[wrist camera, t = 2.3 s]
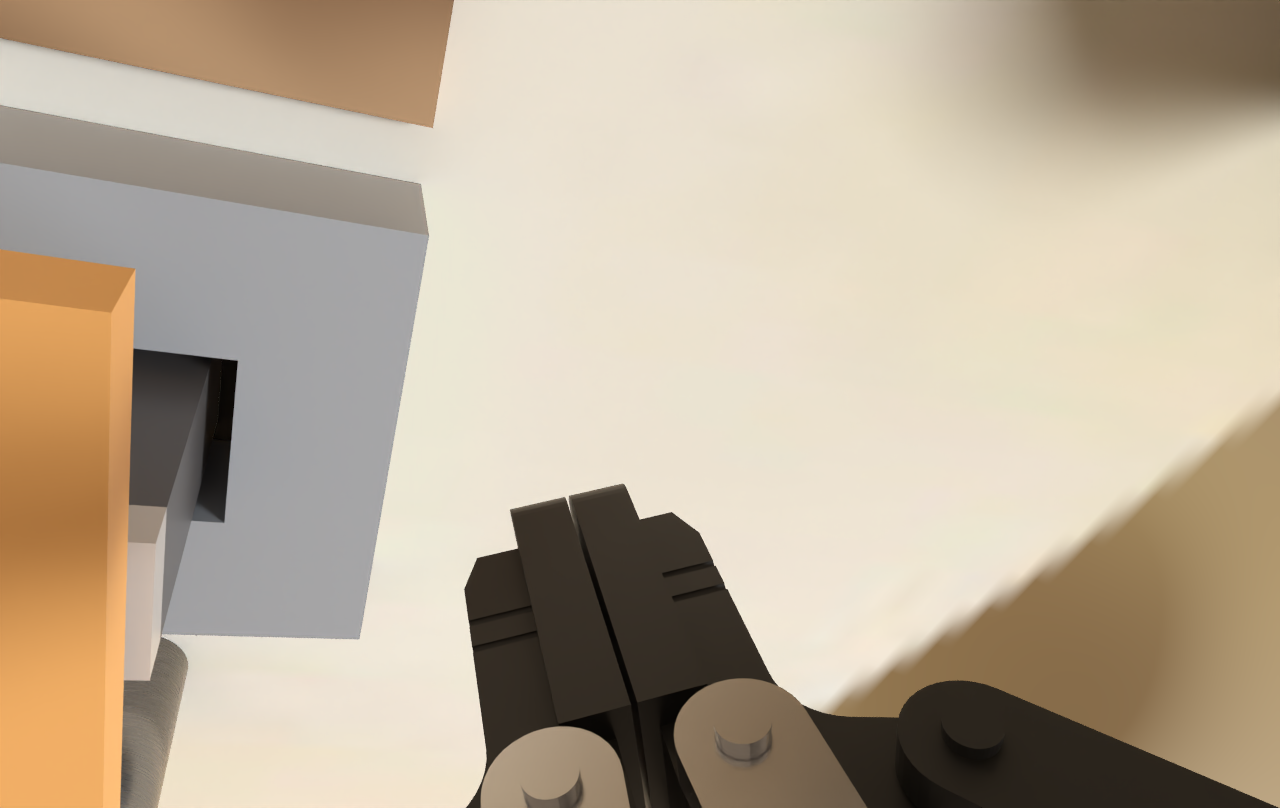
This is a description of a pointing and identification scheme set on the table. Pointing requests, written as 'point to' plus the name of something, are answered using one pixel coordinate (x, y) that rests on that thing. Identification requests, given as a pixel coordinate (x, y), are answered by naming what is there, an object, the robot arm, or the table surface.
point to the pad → (262, 45)
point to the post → (150, 727)
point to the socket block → (249, 344)
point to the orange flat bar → (63, 527)
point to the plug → (163, 486)
